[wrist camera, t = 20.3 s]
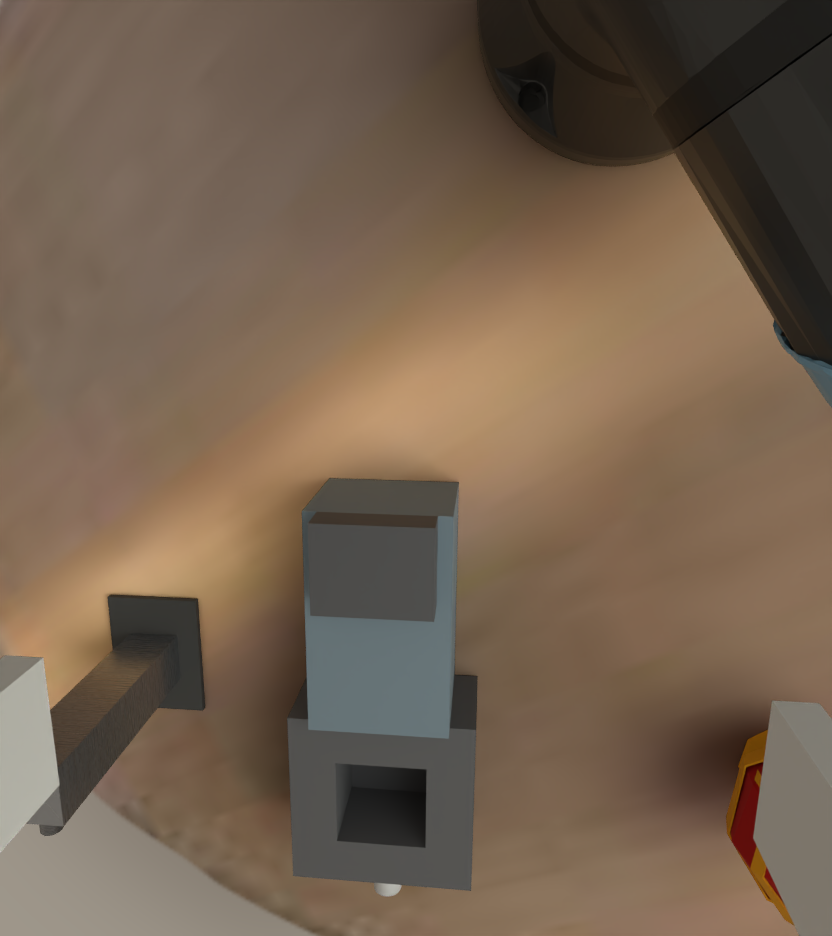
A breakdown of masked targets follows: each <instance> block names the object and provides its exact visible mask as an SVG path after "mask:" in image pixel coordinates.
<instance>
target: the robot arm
mask: <svg viewBox="0 0 832 936" xmlns="http://www.w3.org/2000/svg"><path fill="white" fill-rule="evenodd" d="M477 11H478V33H479V42H480V49H481V53H482V58H483V62H484V65H485V69H486V72H487V75H488V77H489V80H490V82H491V85H492V87H493V89H494V91H495V93H496V95H497V97H498V99H499V100H500V102H501V104H502V105H503V107H504V108H505V110H506V111H507V112H508V114H509V115H510V116H511V118H512V119H513V120H514V121H515V122H516V123H517V124H518V126H519V127H520V128H521V129H522V130H524V131H525V132H526V133H527V134H528V135H529V136H530V137H532V138H533V139H534V140H535V141H537V142H538V143H540V144H541V145H542V146H544V147H546V148H547V149H549V150H551V151H553V152H555V153H557V154H559V155H561V156H563V157H566V158H569V159H571V160H575V161H578V162H582V163H586V164H592V165H599V166H628V165H636V164H641V163H646V162H649V161H653V160H656V159H659V158H662V157H665V156H668V155H670V154H672V153H675V155H676V156H677V158H678V160H679V161H680V163H681V165H682V166H683V168H684V170H685V171H686V173H687V175H688V176H689V178H690V180H691V181H692V183H693V185H694V186H695V188H696V190H697V191H698V193H699V195H700V196H701V198H702V200H703V201H704V203H705V205H706V206H707V208H708V210H709V211H710V213H711V215H712V216H713V218H714V220H715V221H716V223H717V225H718V226H719V228H720V230H721V231H722V233H723V235H724V236H725V238H726V240H727V241H728V243H729V245H730V246H731V248H732V250H733V251H734V253H735V255H736V256H737V258H738V259H739V261H740V263H741V264H742V266H743V268H744V269H745V271H746V273H747V274H748V276H749V278H750V279H751V281H752V283H753V284H754V286H755V288H756V289H757V291H758V293H759V294H760V296H761V298H762V299H763V301H764V303H765V304H766V306H767V308H768V309H769V311H770V313H771V314H772V316H773V318H774V319H775V320H774V323H773V327H774V331H775V333H776V336H777V338H778V340H779V342H780V344H781V345H782V347H783V348H784V349H785V350H786V352H787V353H789V354H791V355H792V356H793V358H794V359H795V360H796V361H797V362H798V363H800V364H802V365H803V367H804V368H805V370H806V371H807V373H808V374H809V376H810V377H811V379H812V380H813V382H814V383H815V385H816V386H817V388H818V389H819V391H820V392H821V394H822V395H823V397H824V398H825V400H826V401H827V403H828V404H829V405H830V406H831V408H832V0H477ZM59 785H60V784H59V776H58V768H57V761H56V753H55V745H54V737H53V730H52V722H51V714H50V706H49V699H48V691H47V683H46V675H45V668H44V660H43V658H41V657H24V656H7V655H5V656H3V657H2V658H1V659H0V853H1V852H2V850H3V849H4V848H5V847H6V846H7V845H8V844H9V842H10V841H11V840H12V839H13V838H14V837H15V836H16V834H17V833H18V832H19V831H20V830H21V829H22V827H23V826H24V825H25V824H26V823H27V822H28V821H29V819H30V818H31V817H32V816H33V815H34V814H35V813H36V811H37V810H38V809H39V808H40V807H41V806H42V805H43V803H44V802H45V801H46V800H47V799H48V798H49V796H50V795H51V794H52V793H53V792H54V791H55V790H56V788H57V787H58V786H59ZM753 839H754V841H755V843H756V845H757V847H758V849H759V852H760V854H761V856H762V858H763V860H764V862H765V864H766V866H767V868H768V871H769V873H770V875H771V877H772V879H773V881H774V883H775V885H776V887H777V890H778V892H779V894H780V896H781V898H782V900H783V902H784V904H785V906H786V909H787V911H788V913H789V915H790V917H791V919H792V921H793V923H794V925H795V928H796V930H797V932H798V934H799V936H832V719H831V718H830V716H829V715H828V714H827V712H826V711H825V710H824V709H823V707H822V706H821V705H820V704H819V703H805V702H788V701H772V705H771V713H770V720H769V727H768V734H767V741H766V749H765V756H764V763H763V770H762V777H761V785H760V792H759V799H758V806H757V813H756V821H755V828H754V835H753Z"/></svg>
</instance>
